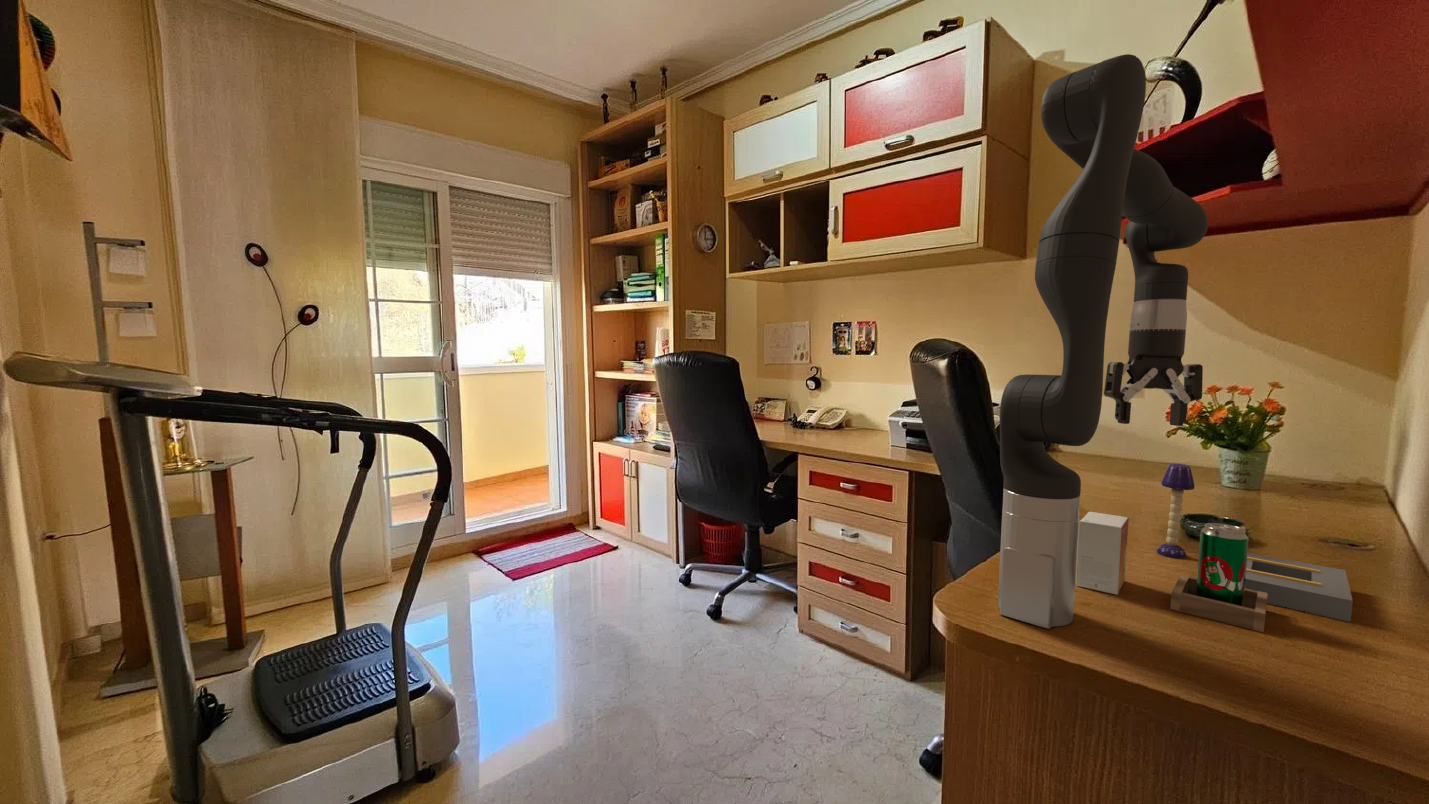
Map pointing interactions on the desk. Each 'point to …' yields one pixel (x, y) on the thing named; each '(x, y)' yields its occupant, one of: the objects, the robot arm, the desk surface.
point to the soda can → (1222, 563)
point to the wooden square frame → (1220, 605)
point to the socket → (1300, 586)
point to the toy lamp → (1175, 507)
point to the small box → (1102, 552)
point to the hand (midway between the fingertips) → (1149, 424)
